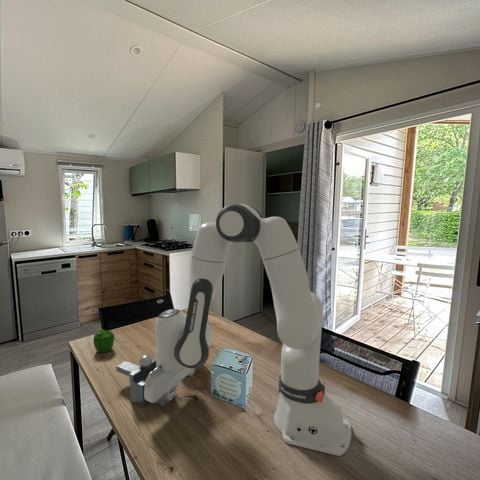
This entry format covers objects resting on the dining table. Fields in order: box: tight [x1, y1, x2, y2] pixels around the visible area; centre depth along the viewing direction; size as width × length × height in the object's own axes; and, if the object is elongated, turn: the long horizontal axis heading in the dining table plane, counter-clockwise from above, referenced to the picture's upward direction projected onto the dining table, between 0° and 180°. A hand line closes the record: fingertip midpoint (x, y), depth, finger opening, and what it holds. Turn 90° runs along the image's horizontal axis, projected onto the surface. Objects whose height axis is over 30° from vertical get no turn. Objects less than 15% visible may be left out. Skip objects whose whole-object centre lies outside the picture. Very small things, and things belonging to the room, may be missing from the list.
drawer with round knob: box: [115, 354, 157, 408], centre depth 103 cm, size 18×13×13 cm
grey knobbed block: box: [154, 394, 175, 407], centre depth 98 cm, size 8×5×5 cm, turn 62°
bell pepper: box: [92, 328, 115, 353], centre depth 130 cm, size 8×8×10 cm
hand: (170, 397), depth 96 cm, fingers closed
